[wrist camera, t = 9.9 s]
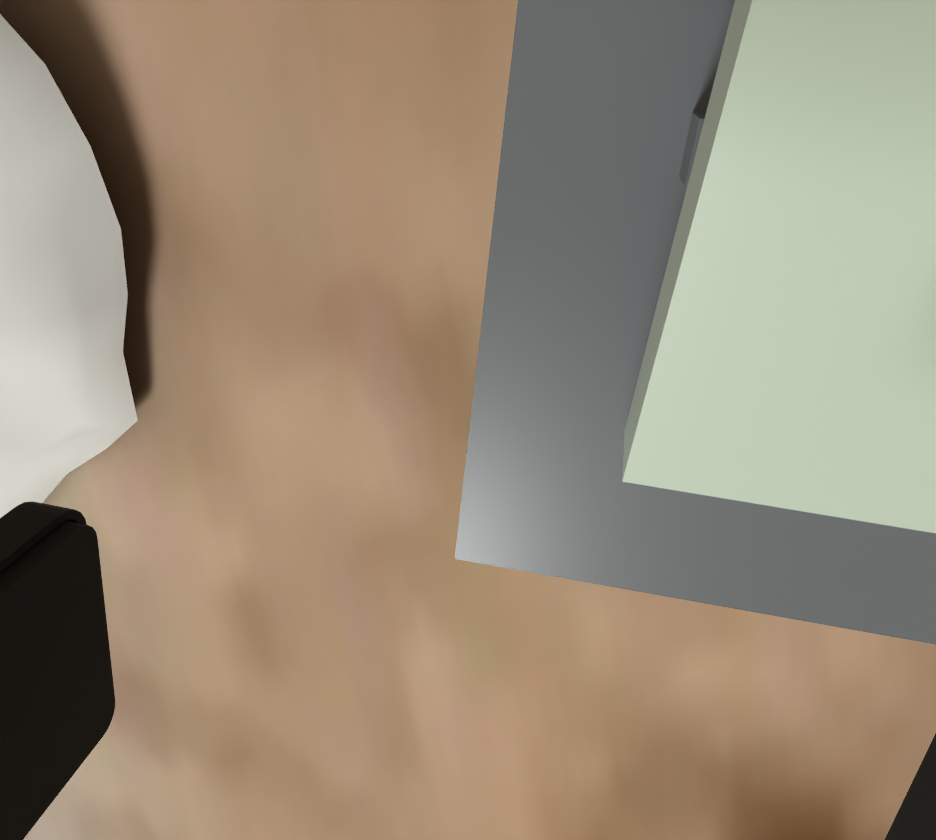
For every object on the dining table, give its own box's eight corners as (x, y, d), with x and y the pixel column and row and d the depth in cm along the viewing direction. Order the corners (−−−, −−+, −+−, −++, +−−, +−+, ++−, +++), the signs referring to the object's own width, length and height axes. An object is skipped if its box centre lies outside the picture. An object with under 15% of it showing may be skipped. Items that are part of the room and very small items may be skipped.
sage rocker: (946, 481, 15) (972, 548, 14) (625, 429, 15) (621, 489, 14) (1493, -330, 7) (1653, -339, 6) (829, -372, 8) (860, -386, 7)
